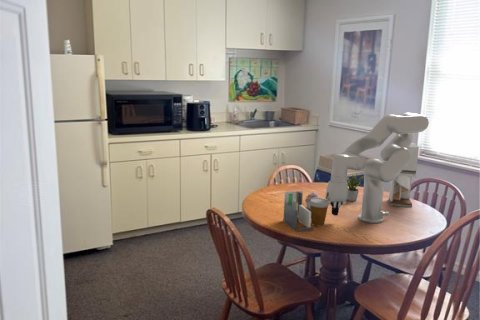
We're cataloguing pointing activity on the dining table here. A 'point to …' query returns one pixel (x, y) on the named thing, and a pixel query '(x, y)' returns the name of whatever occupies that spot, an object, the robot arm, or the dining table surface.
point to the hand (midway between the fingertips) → (334, 214)
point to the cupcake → (311, 196)
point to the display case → (404, 181)
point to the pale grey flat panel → (304, 214)
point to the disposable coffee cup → (318, 211)
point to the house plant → (353, 188)
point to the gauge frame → (292, 210)
